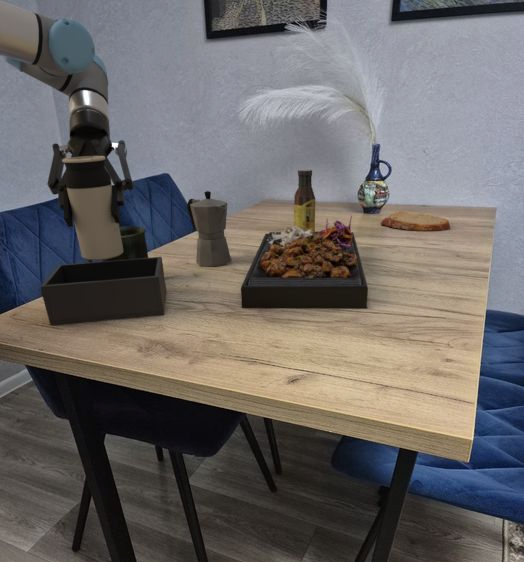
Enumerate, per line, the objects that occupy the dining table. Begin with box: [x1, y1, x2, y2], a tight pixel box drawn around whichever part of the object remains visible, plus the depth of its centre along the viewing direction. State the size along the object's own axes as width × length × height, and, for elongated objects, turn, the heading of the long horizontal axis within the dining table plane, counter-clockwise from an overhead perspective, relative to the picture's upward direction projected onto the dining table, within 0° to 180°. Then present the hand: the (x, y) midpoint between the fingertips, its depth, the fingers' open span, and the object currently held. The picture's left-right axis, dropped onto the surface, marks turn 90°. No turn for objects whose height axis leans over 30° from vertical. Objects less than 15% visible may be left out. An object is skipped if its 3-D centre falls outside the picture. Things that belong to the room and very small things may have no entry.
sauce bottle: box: [293, 169, 316, 232], centre depth 138 cm, size 6×6×20 cm
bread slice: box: [380, 211, 451, 232], centre depth 152 cm, size 18×18×4 cm
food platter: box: [240, 215, 369, 309], centre depth 111 cm, size 45×25×10 cm, turn 174°
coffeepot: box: [186, 190, 232, 268], centre depth 121 cm, size 15×9×18 cm, turn 45°
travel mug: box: [62, 156, 124, 261], centre depth 89 cm, size 8×8×18 cm
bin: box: [39, 256, 167, 326], centre depth 96 cm, size 22×15×8 cm
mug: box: [86, 225, 149, 263], centre depth 109 cm, size 11×15×12 cm
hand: (92, 220), depth 87 cm, fingers closed on travel mug, 8 cm apart
